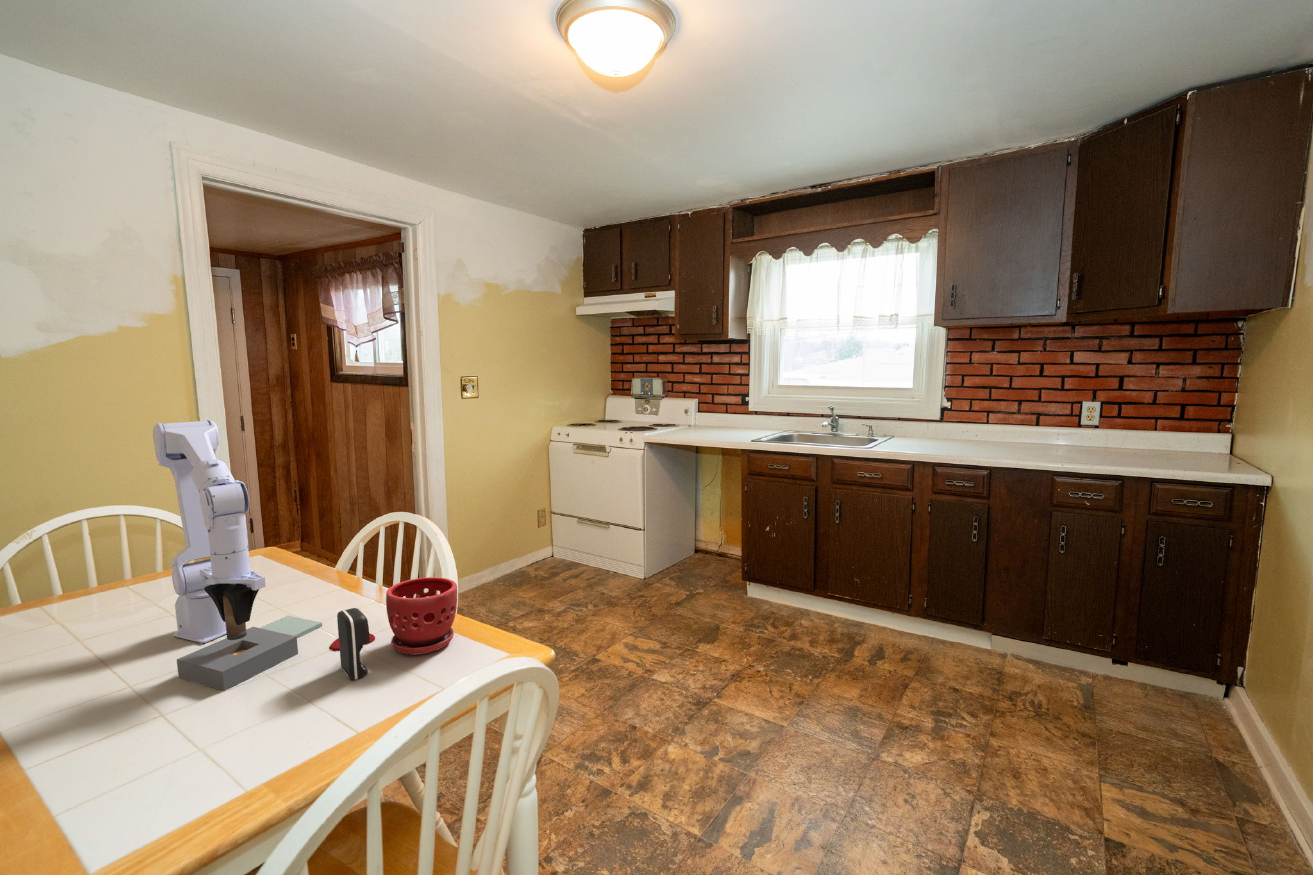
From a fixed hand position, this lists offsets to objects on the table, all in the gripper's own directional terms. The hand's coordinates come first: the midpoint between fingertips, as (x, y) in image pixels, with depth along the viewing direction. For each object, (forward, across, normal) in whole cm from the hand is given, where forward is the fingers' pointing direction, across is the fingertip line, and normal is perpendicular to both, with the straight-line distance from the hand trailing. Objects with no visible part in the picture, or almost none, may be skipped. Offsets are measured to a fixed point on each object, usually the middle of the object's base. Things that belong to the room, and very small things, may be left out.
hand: (236, 621), depth 111 cm
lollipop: (+9, +8, +17) cm, 21 cm away
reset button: (+8, 0, 0) cm, 8 cm away
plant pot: (+9, +26, +19) cm, 33 cm away
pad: (+9, -5, +13) cm, 16 cm away
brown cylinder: (+3, 0, 0) cm, 3 cm away
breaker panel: (+9, 0, 0) cm, 9 cm away
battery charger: (+9, +22, +6) cm, 25 cm away
